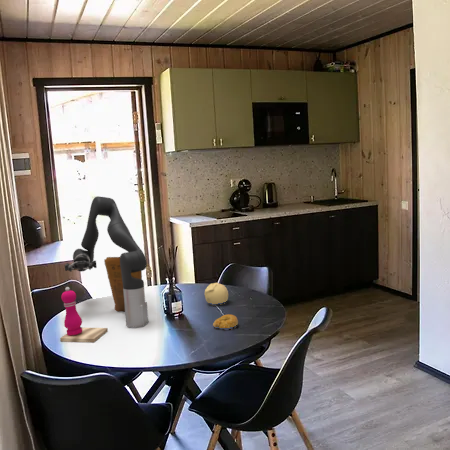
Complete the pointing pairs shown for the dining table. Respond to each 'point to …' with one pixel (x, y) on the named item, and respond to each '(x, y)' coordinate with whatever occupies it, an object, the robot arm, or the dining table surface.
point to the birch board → (85, 335)
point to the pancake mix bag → (117, 281)
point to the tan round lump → (216, 293)
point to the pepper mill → (71, 313)
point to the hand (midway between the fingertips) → (80, 268)
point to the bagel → (226, 321)
